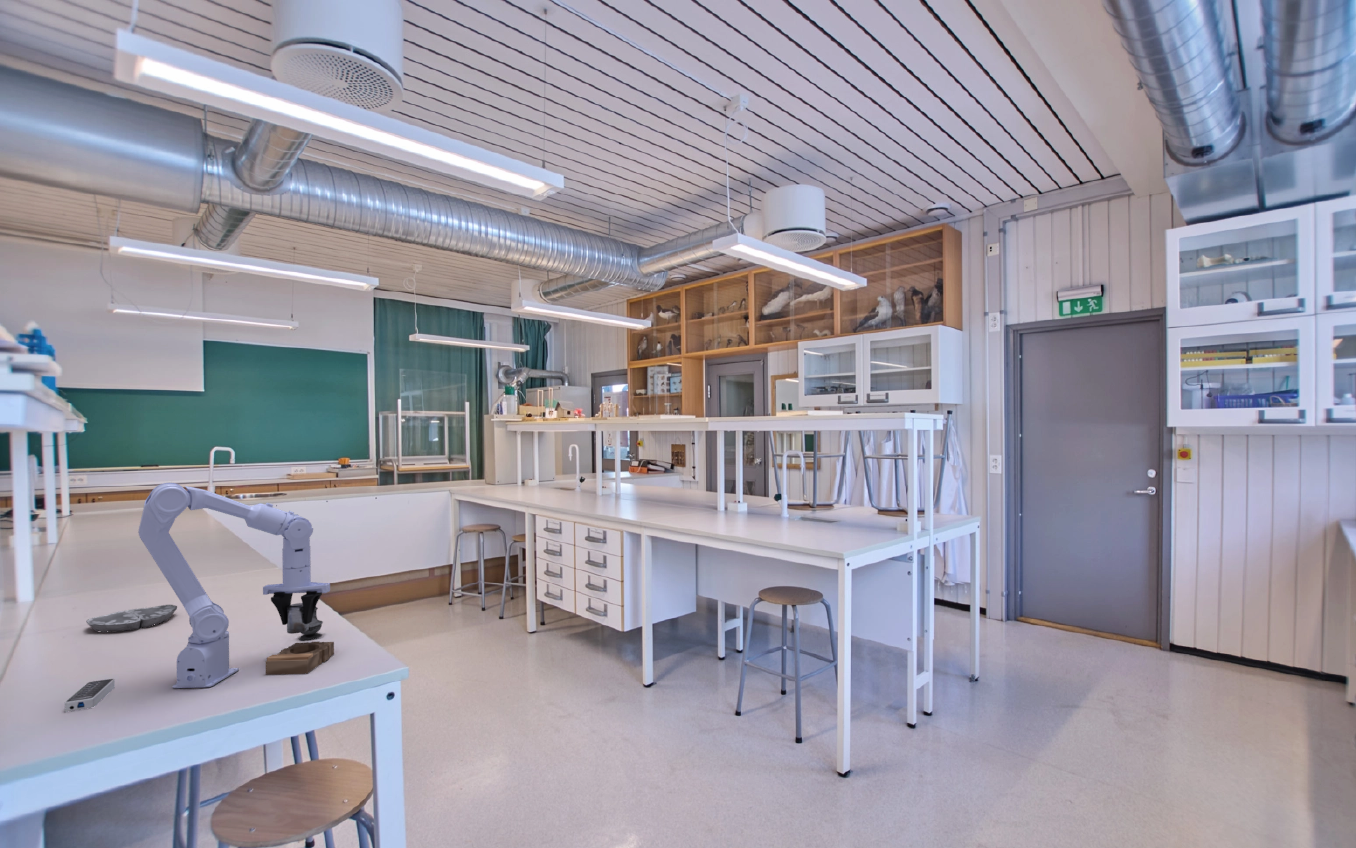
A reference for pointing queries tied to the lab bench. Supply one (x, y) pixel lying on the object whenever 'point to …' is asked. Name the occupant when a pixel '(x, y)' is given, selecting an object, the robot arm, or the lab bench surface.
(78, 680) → the lab bench surface
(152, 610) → the brain slice
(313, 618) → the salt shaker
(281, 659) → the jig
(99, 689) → the multiport hub
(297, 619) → the bushing
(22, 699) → the lab bench surface
